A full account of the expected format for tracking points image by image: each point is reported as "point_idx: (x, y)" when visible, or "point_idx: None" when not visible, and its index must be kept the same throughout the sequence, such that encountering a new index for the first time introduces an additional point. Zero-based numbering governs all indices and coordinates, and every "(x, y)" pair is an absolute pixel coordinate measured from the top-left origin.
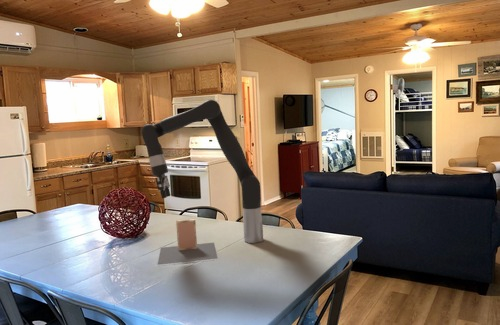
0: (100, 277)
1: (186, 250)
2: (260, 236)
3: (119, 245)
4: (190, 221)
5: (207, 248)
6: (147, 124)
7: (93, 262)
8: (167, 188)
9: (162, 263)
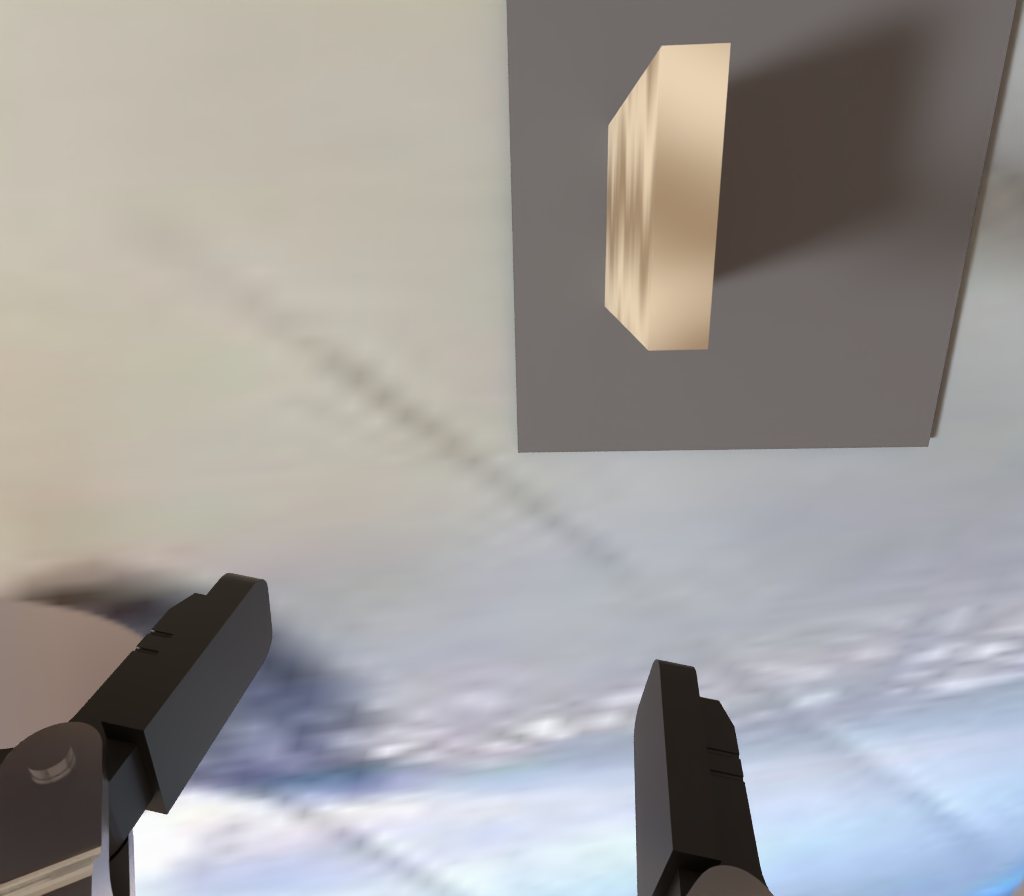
0: (939, 739)
1: None
2: None
3: (331, 730)
4: (717, 133)
5: (686, 10)
6: None
7: None
8: (130, 765)
9: (922, 412)
